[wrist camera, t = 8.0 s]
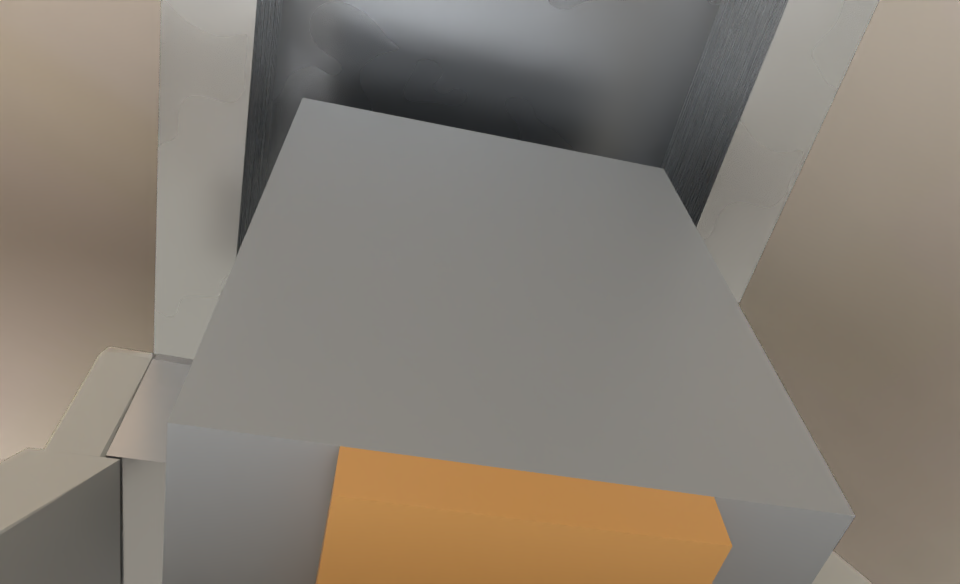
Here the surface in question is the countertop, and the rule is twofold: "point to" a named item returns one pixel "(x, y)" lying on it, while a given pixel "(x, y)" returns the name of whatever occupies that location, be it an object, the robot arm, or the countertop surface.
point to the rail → (491, 105)
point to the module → (482, 381)
